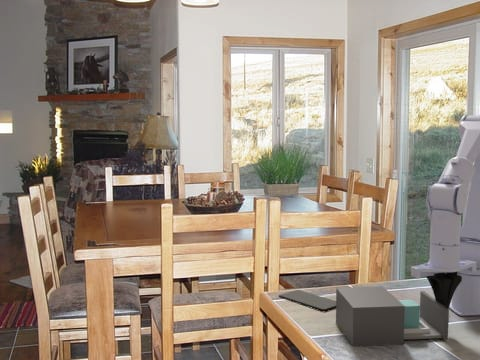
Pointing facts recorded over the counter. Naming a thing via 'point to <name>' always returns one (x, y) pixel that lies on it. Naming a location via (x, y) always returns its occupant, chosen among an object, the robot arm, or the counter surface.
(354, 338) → the dark grey cuboid box
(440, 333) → the tray
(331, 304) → the smartphone
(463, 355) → the counter surface
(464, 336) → the counter surface
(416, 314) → the block
